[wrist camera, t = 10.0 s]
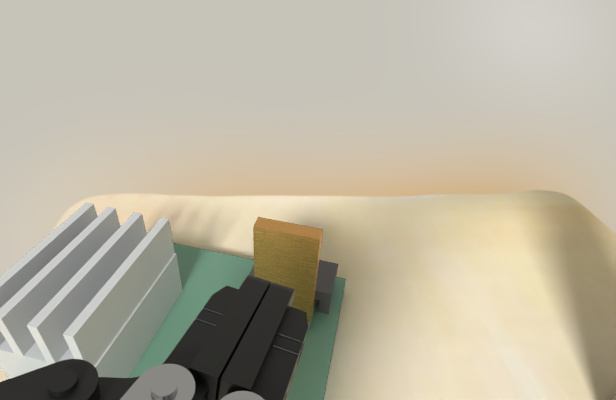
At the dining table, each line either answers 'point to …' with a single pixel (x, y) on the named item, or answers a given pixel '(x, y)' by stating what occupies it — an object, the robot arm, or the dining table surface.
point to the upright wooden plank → (289, 259)
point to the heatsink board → (133, 300)
